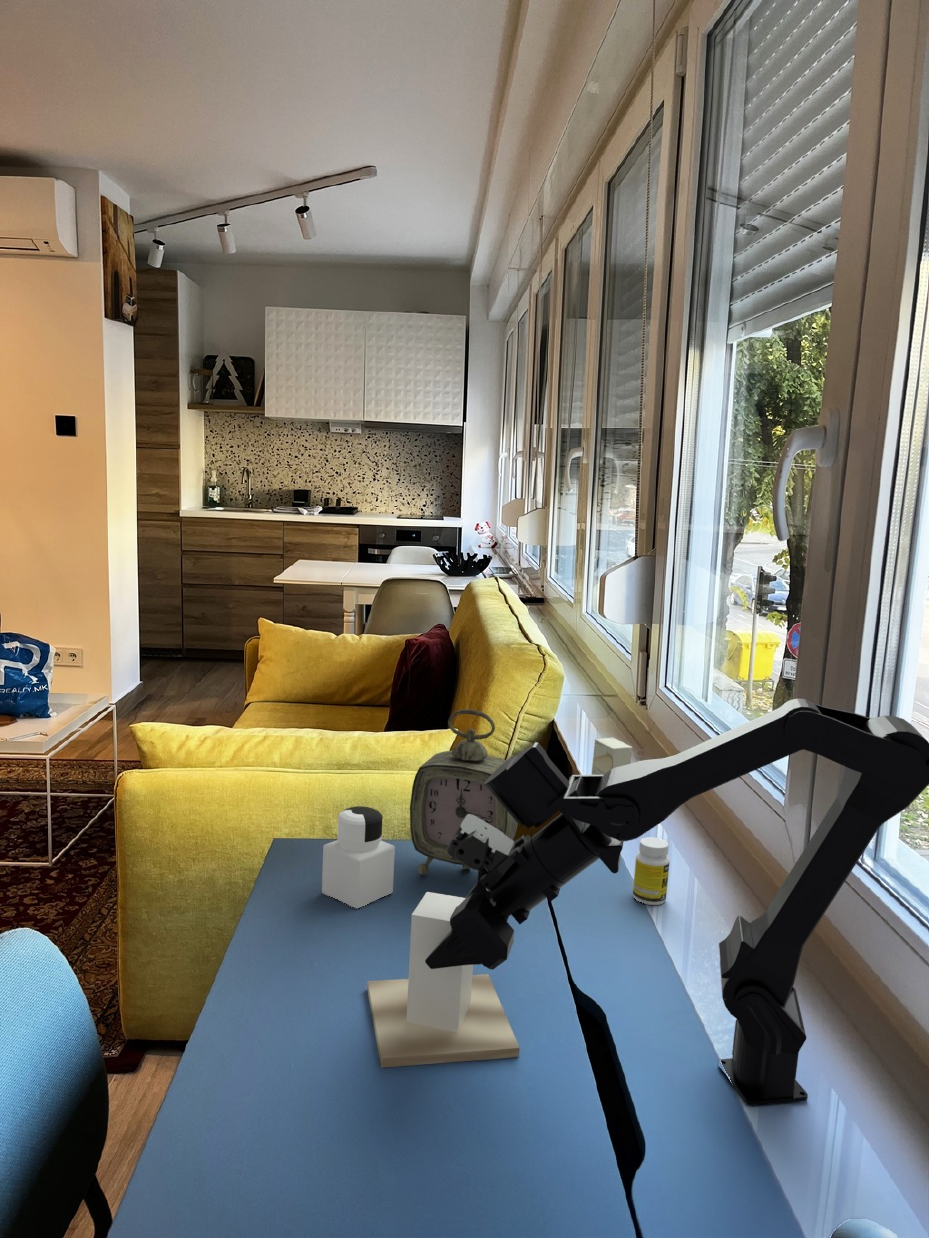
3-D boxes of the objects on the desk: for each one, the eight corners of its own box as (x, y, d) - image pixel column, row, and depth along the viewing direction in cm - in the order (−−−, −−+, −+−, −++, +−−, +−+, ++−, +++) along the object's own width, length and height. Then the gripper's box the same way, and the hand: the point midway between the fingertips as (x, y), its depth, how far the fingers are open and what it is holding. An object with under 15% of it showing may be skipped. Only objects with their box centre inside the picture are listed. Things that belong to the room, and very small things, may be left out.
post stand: (519, 1056, 93) (521, 1015, 92) (381, 1067, 90) (383, 1025, 89) (487, 981, 107) (490, 945, 106) (367, 989, 104) (368, 952, 103)
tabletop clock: (406, 877, 133) (414, 710, 129) (427, 854, 142) (435, 696, 138) (502, 896, 129) (514, 723, 125) (518, 871, 137) (529, 708, 134)
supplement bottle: (666, 908, 128) (671, 851, 127) (631, 903, 129) (636, 846, 128) (665, 893, 133) (671, 838, 131) (632, 888, 134) (637, 833, 132)
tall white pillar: (470, 1003, 100) (477, 899, 98) (458, 1032, 95) (464, 923, 93) (421, 993, 102) (426, 891, 100) (406, 1021, 96) (411, 914, 94)
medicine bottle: (357, 878, 132) (361, 798, 130) (393, 894, 128) (397, 811, 126) (320, 893, 127) (323, 810, 125) (356, 911, 122) (360, 825, 120)
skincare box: (587, 802, 169) (592, 738, 167) (608, 799, 171) (613, 736, 169) (606, 814, 163) (612, 748, 162) (627, 811, 165) (633, 746, 163)
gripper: (514, 770, 102) (415, 850, 107) (478, 830, 84) (360, 924, 89) (580, 847, 102) (478, 925, 106) (557, 924, 84) (435, 1014, 88)
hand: (439, 942), depth 97 cm, fingers open, 9 cm apart
